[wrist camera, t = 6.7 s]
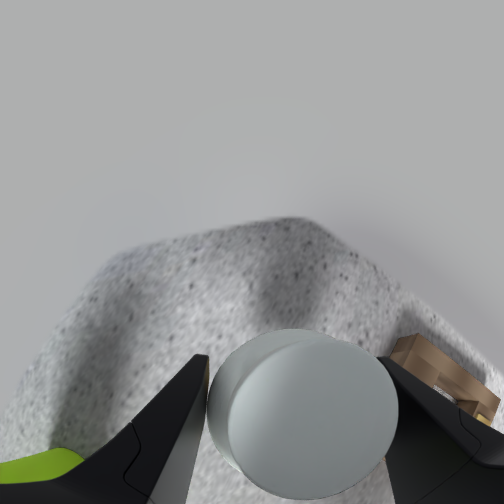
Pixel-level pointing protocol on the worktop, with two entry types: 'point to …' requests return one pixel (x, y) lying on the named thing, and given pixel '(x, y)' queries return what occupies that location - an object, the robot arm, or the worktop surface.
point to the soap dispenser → (39, 466)
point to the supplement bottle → (302, 413)
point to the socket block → (445, 376)
